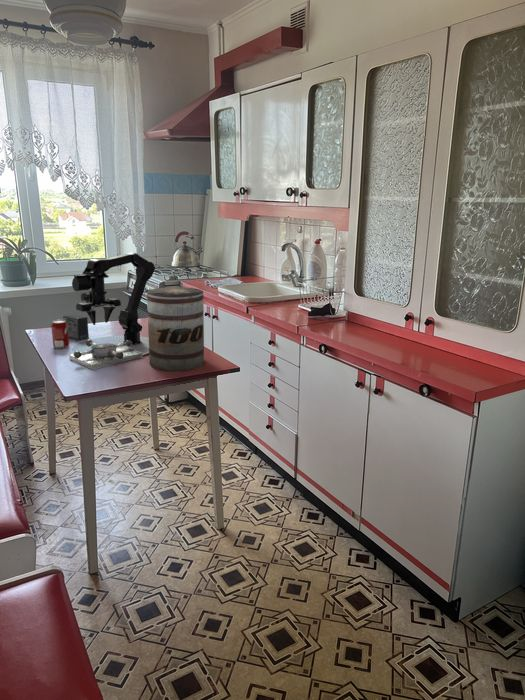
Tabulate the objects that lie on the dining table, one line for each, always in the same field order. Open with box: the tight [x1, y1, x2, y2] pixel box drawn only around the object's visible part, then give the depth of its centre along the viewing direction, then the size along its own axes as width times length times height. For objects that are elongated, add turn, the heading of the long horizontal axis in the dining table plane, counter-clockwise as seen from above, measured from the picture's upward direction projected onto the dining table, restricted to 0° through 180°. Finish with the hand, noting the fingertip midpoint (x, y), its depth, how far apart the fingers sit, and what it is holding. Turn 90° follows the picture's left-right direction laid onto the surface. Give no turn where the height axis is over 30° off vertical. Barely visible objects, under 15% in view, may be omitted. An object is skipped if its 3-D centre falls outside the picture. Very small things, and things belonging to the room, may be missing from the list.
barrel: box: [146, 286, 205, 373], centre depth 216 cm, size 22×22×30 cm
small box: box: [62, 313, 90, 341], centre depth 252 cm, size 11×6×10 cm, turn 58°
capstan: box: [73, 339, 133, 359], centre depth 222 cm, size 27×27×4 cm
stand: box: [68, 343, 144, 370], centre depth 224 cm, size 24×18×2 cm
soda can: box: [50, 319, 70, 349], centre depth 236 cm, size 7×7×12 cm
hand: (100, 323), depth 232 cm, fingers open, 6 cm apart
